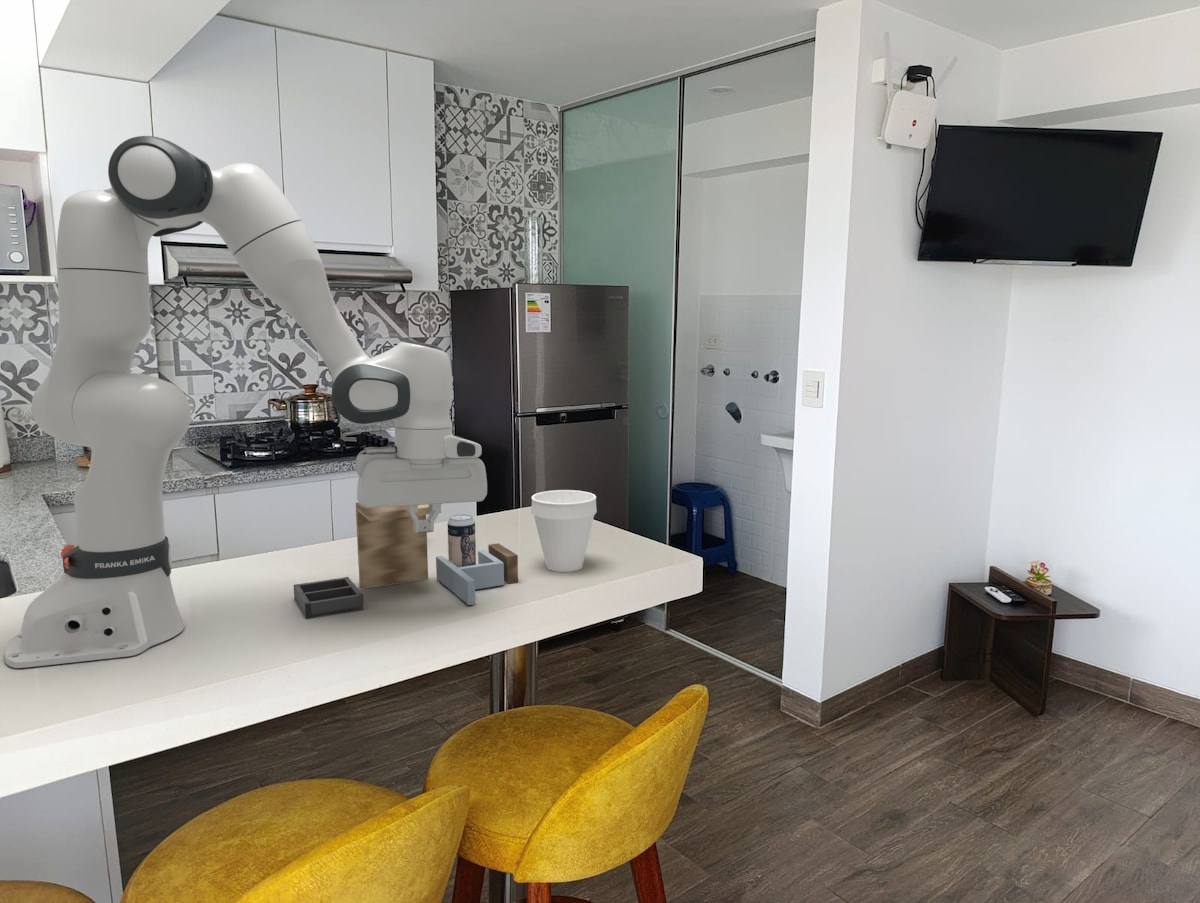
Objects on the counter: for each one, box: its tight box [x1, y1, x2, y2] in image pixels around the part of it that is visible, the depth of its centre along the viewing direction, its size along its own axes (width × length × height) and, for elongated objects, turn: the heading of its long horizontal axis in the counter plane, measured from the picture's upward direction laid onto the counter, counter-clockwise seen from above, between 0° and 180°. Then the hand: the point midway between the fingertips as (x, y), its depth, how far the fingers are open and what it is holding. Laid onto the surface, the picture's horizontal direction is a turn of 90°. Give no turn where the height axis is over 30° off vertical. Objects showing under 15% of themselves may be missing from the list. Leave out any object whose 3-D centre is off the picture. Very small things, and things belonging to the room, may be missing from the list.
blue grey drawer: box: [435, 549, 505, 606], centre depth 146 cm, size 9×16×4 cm, turn 29°
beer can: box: [447, 514, 477, 567], centre depth 148 cm, size 5×5×12 cm
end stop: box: [487, 543, 519, 585], centre depth 153 cm, size 2×9×5 cm, turn 29°
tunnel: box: [355, 501, 442, 590], centre depth 144 cm, size 12×10×15 cm
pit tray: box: [293, 576, 365, 620], centre depth 138 cm, size 9×11×2 cm
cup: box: [530, 489, 598, 573], centre depth 158 cm, size 12×12×14 cm
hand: (423, 532), depth 133 cm, fingers closed
